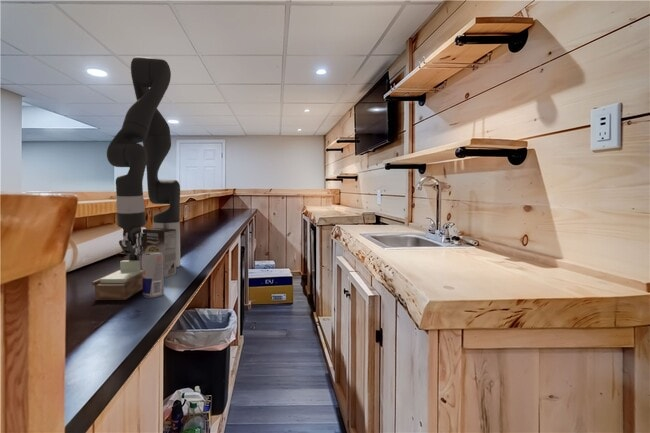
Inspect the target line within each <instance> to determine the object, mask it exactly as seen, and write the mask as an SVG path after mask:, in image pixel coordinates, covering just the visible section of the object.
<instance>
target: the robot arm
mask: <svg viewBox="0 0 650 433" xmlns="http://www.w3.org/2000/svg"><path fill="white" fill-rule="evenodd" d="M130 73H131V80H132V85H133V89H134V95H135V98H136V101H135V102H133V103H132V105H131V106H130V107H129V108H128V110H127V112H126V115H125V116H124V119H123V123H122V126H121V129H120V130H119V131H118V132H117V134H116V135H115V136H114V137H113V139H112V140H111V142H110V143H109V145H108V146H107V150H106V158H107V161H108V163H109V164H110V165H111V166H112V167H116V168H129V169H128V172H127V173H126V174H123V175H119V176H117V177H116V179H115V190H116V191H115V192H116V194H115V195H116V201H115V202H116V204H115V206H116V218H117V219H116V220H117V226H118V228H122V229H123V231H122V236H123V238H122V239H120V240H119V241H118V245H119V246H120V248H121V249H122V251H123V253H124V255H128V256H129V257H128V258H129V259H128V260H140V254H141V251H143V243H144V239H145V233H143V230H142V227H145V226H146V224H147V222H146V206H145V199H144V191H143V190H144V187H143V180H144V175H145V170H146V180H147V181H146V182H147V195H148V199H149V202H150V203H151V204H154V205H169V207H168V208H167V209H166V210H164V211H161V212H159V213H155V214H154V215H153V217H152V222H153V224H152V225H153V227H152V228H165V229H176V268H179V267H181V229H180V228H181V225H180V224H181V223H180V220H181V218H180V216H181V214H180V213H181V212H180V209H181V208H180V206H181V185H180V182H179V181H178V180H177V179H159V175H158V174H159V171H160V167H161V165H162V164H163V162H164V161H165V158H166V157H167V155H168V154H169V152H170V150H171V147H172V138H171V129H170V126H169V123H168V122H167V120H166V119H165V117H164V116H163V115H162V113H161V112H160V110H159V109H158V107H159V106H160V104H161V101H162V100H163V97H164V95H165V94H166V92H167V91H168V88H169V86H170V83H171V78H172V73H171V68H170V65H169V63H168V62H167V61H166V60H165V59H162V58H158V57H157V58H155V57H147V56H135V57H134V56H133V58H132V59H131V62H130ZM140 143H142V144H140Z"/></svg>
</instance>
